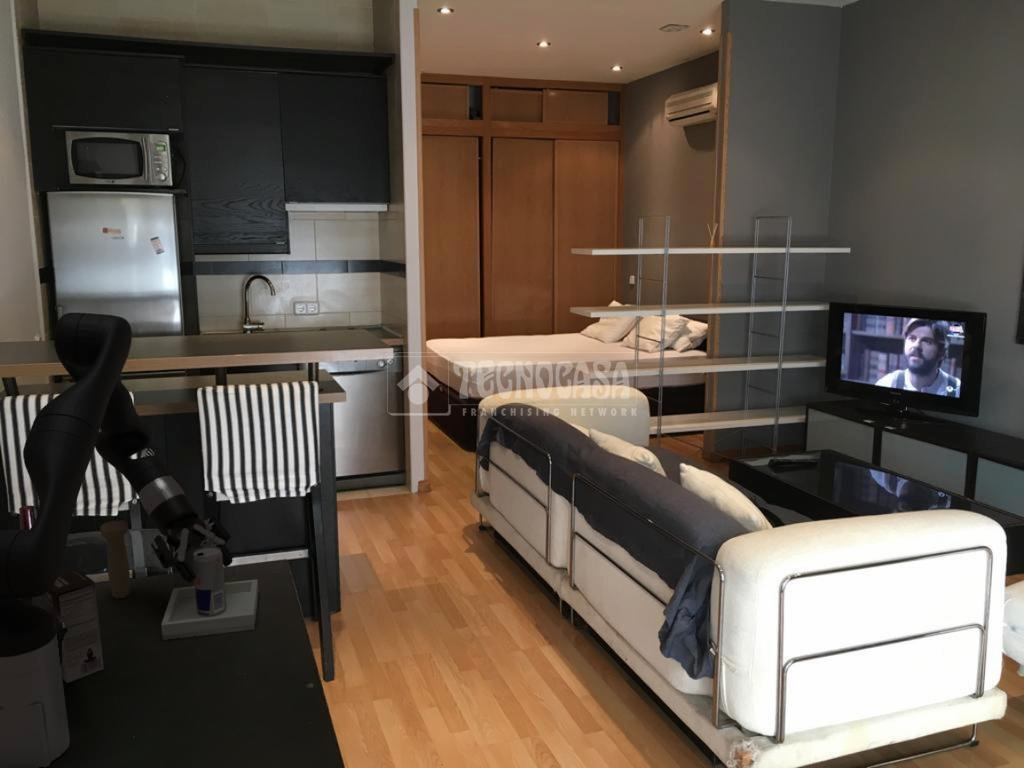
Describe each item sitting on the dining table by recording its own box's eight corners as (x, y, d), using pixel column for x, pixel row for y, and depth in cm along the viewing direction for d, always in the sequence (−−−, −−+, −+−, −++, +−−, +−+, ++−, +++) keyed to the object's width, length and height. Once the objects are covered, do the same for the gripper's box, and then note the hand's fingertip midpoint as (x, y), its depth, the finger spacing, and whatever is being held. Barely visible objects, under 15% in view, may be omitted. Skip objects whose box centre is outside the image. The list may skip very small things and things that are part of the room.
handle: (134, 587, 174) (127, 519, 171) (133, 600, 168) (126, 529, 165) (109, 591, 172) (101, 522, 169) (107, 604, 166) (99, 533, 164)
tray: (254, 629, 156) (253, 614, 155) (162, 640, 152) (161, 625, 151) (258, 593, 171) (257, 579, 170) (174, 602, 167) (173, 588, 167)
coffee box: (45, 665, 144) (34, 577, 141) (84, 651, 148) (74, 566, 145) (66, 684, 138) (55, 593, 135) (106, 669, 142) (96, 580, 139)
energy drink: (196, 607, 162) (191, 549, 160) (225, 602, 165) (220, 544, 162) (198, 619, 158) (193, 559, 155) (228, 613, 160) (223, 554, 158)
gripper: (142, 504, 155) (188, 575, 152) (205, 483, 167) (249, 549, 164) (127, 526, 159) (171, 596, 155) (190, 504, 171) (232, 569, 167)
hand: (211, 572), depth 159 cm, fingers open, 8 cm apart
